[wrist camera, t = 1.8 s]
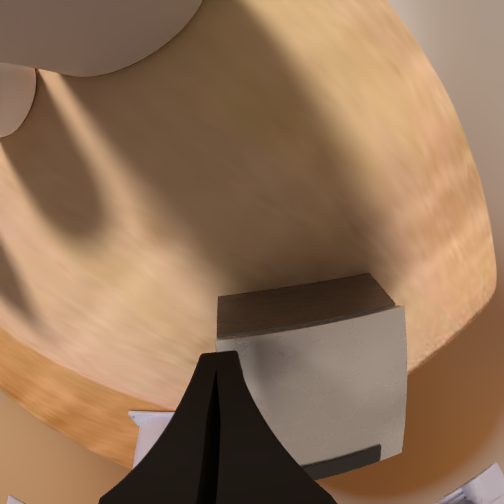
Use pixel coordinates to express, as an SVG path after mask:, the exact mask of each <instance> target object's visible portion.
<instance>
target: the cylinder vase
mask: <svg viewBox="0 0 504 504" xmlns="http://www.w3.org/2000/svg"><path fill="white" fill-rule="evenodd" d="M202 1H203V0H0V62H1V63H8V64H15V65H21V66H27V67H33V68H38V69H43V70H47V71H52V72H56V73H61V74H65V75H69V76H75V77H91V76H98V75H103V74H108V73H111V72H114V71H117V70H120V69H123V68H125V67H128V66H130V65H132V64H134V63H136V62H138V61H140V60H142V59H144V58H146V57H147V56H149V55H150V54H152V53H154V52H155V51H157V50H158V49H159V48H161V47H162V46H164V45H165V44H166V43H167V42H169V41H170V40H171V39H172V38H173V37H175V36H176V35H177V34H178V33H179V32H180V31H181V30H182V29H183V28H184V27H185V26H186V24H187V23H188V22H189V21H190V20H191V18H192V17H193V16H194V14H195V13H196V11H197V10H198V8H199V7H200V5H201V3H202Z"/></svg>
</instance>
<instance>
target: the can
mask: <svg viewBox="0 0 504 504" xmlns="http://www.w3.org/2000/svg"><path fill="white" fill-rule="evenodd" d="M35 91H36V74H35V69H34V68H33V67H27V66H21V65H15V64H8V63H1V62H0V138H1V137H5V136H8V135H10V134H12V133H13V132H14V131H16V130H17V129H18V128H19V126H20V125H21V124H22V123H23V121H24V119H25V118H26V116H27V114H28V113H29V111H30V108H31V106H32V103H33V100H34V96H35Z"/></svg>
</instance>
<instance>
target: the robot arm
mask: <svg viewBox="0 0 504 504" xmlns="http://www.w3.org/2000/svg"><path fill="white" fill-rule="evenodd" d="M128 414H129V416H130V417H131V418H132V419H133V421H134V422H135V423H136V424H137V425H138V426H139V433H138V439H137V445H136V451H135V457H134V464H133V470H132V471H131V472H130V473H129V474H128V475H127V476H126V477H125V478H124V479H123V480H122V481H120V482H119V483H118V484H117V485H116V486H115V487H113V488H112V489H111V490H110V491H108V492H107V493H106V494H105V495H103V496H102V497H101V498H100V500H99V503H98V504H337V503H336V501H335V500H334V499H333V498H332V496H331V495H330V494H329V493H328V492H326V491H325V490H324V489H323V488H322V487H321V486H319V484H317V483H316V482H315V481H314V480H313V479H312V478H311V477H310V476H309V475H308V474H307V473H306V472H305V471H304V470H303V469H302V468H301V467H300V465H299V464H298V463H297V462H296V461H295V460H294V459H293V457H292V456H291V455H290V454H289V453H288V451H287V450H286V449H285V448H284V447H283V445H282V444H281V443H280V441H279V440H278V439H277V437H276V436H275V434H274V433H273V432H272V430H271V429H270V427H269V426H268V424H267V422H266V421H265V419H264V418H263V416H262V414H261V413H260V411H259V409H258V407H257V405H256V404H255V402H254V400H253V398H252V396H251V393H250V391H249V389H248V387H247V385H246V382H245V380H244V376H243V372H242V367H241V363H240V359H239V355H238V352H237V351H235V350H231V351H222V352H213V353H204V354H201V356H200V358H199V361H198V363H197V366H196V369H195V371H194V374H193V376H192V378H191V381H190V383H189V385H188V387H187V389H186V391H185V394H184V396H183V398H182V400H181V402H180V404H179V405H178V407H177V409H176V411H175V412H151V411H129V413H128ZM7 504H25V503H24V502H22V501H20V500H18V499H17V498H15V497H13V496H12V495H9V497H8V502H7ZM433 504H504V475H503V474H502V471H501V469H500V468H499V465H498V463H497V462H494V463H492V464H491V465H490V466H488V467H487V468H486V469H484V470H483V471H482V472H481V473H479V474H478V475H476V476H475V477H473V478H471V479H470V480H468V481H467V482H466V483H464V484H462V485H461V486H459V487H458V488H456V489H455V490H453V491H452V492H450V493H448V494H447V495H445V496H444V497H443V498H442V499H440V500H438V501H437V502H435V503H433Z"/></svg>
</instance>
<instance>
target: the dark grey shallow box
mask: <svg viewBox="0 0 504 504" xmlns="http://www.w3.org/2000/svg"><path fill="white" fill-rule="evenodd" d="M391 306H395V303H394V301H393V300H392V299H391V298H390V297H389V295H388V294H387V293H386V292H385V291H384V289H383V288H382V287H381V286H380V285H379V284H378V282H377V281H376V280H375V279H374V278H373V277H372V276H371V274H370V273H369V274H363V275H358V276H352V277H347V278H341V279H335V280H329V281H323V282H317V283H311V284H305V285H298V286H292V287H285V288H279V289H272V290H265V291H258V292H251V293H243V294H236V295H228V296H220V297H218V308H217V338H218V337H227V336H236V335H244V334H251V333H259V332H266V331H272V330H279V329H285V328H291V327H297V326H303V325H308V324H314V323H319V322H324V321H329V320H334V319H339V318H344V317H349V316H353V315H358V314H362V313H367V312H371V311H375V310H379V309H383V308H387V307H391Z"/></svg>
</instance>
